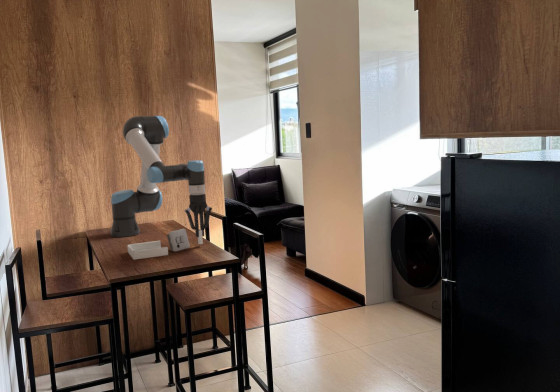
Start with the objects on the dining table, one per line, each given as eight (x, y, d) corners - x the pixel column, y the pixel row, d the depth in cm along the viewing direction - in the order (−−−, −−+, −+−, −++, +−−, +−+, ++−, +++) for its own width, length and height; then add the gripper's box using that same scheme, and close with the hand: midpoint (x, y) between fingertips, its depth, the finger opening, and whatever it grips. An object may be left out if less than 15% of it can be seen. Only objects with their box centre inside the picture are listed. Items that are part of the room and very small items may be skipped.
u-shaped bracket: (127, 252, 245) (127, 244, 244) (160, 247, 251) (160, 240, 250) (133, 259, 230) (133, 251, 230) (168, 254, 236) (167, 247, 236)
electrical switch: (174, 252, 241) (172, 232, 240) (167, 252, 244) (164, 232, 244) (190, 248, 248) (187, 228, 248) (183, 247, 252) (180, 228, 251)
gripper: (185, 195, 241) (189, 246, 244) (213, 193, 247) (216, 243, 250) (181, 194, 248) (184, 243, 251) (208, 191, 253) (211, 240, 257)
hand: (200, 243), depth 250 cm, fingers closed
